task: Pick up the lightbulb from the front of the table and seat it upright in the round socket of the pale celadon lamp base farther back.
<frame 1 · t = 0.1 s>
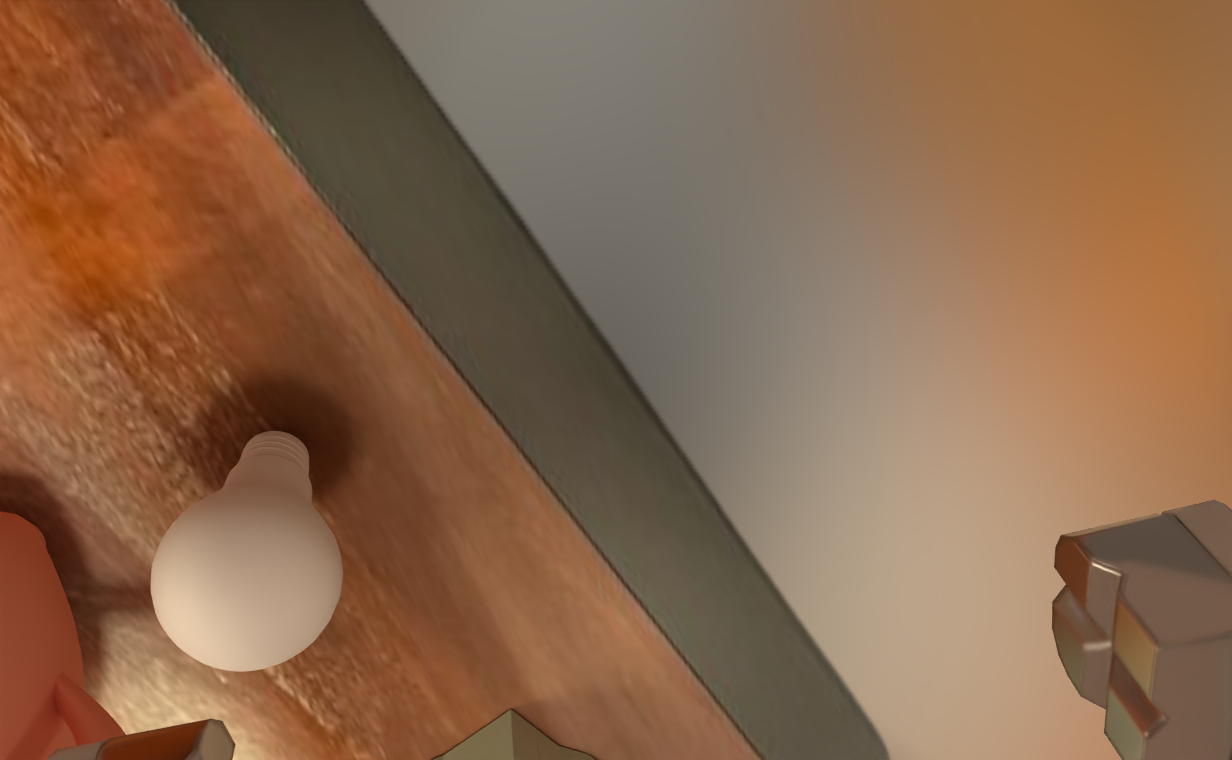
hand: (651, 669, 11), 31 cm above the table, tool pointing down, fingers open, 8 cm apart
lightbulb: (279, 443, 45), on the table
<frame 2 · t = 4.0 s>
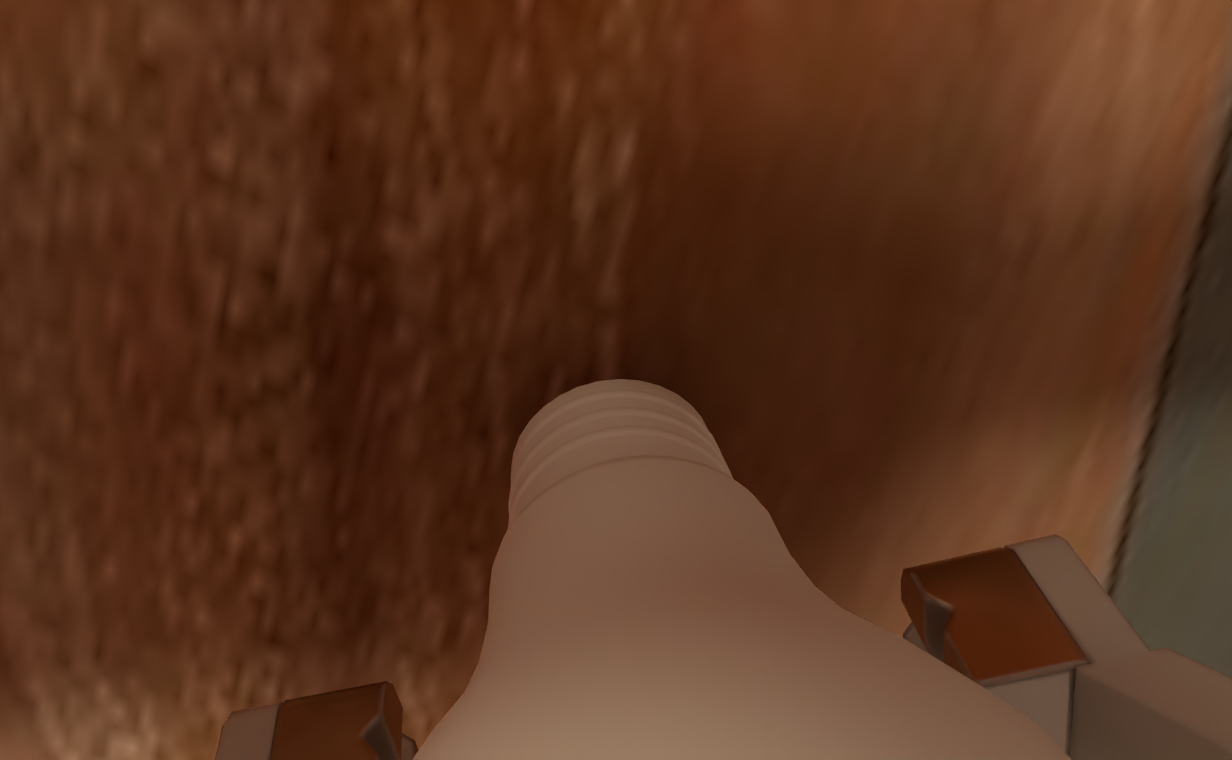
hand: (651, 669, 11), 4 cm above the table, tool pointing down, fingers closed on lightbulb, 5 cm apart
lightbulb: (603, 423, 15), on the table, touching gripper
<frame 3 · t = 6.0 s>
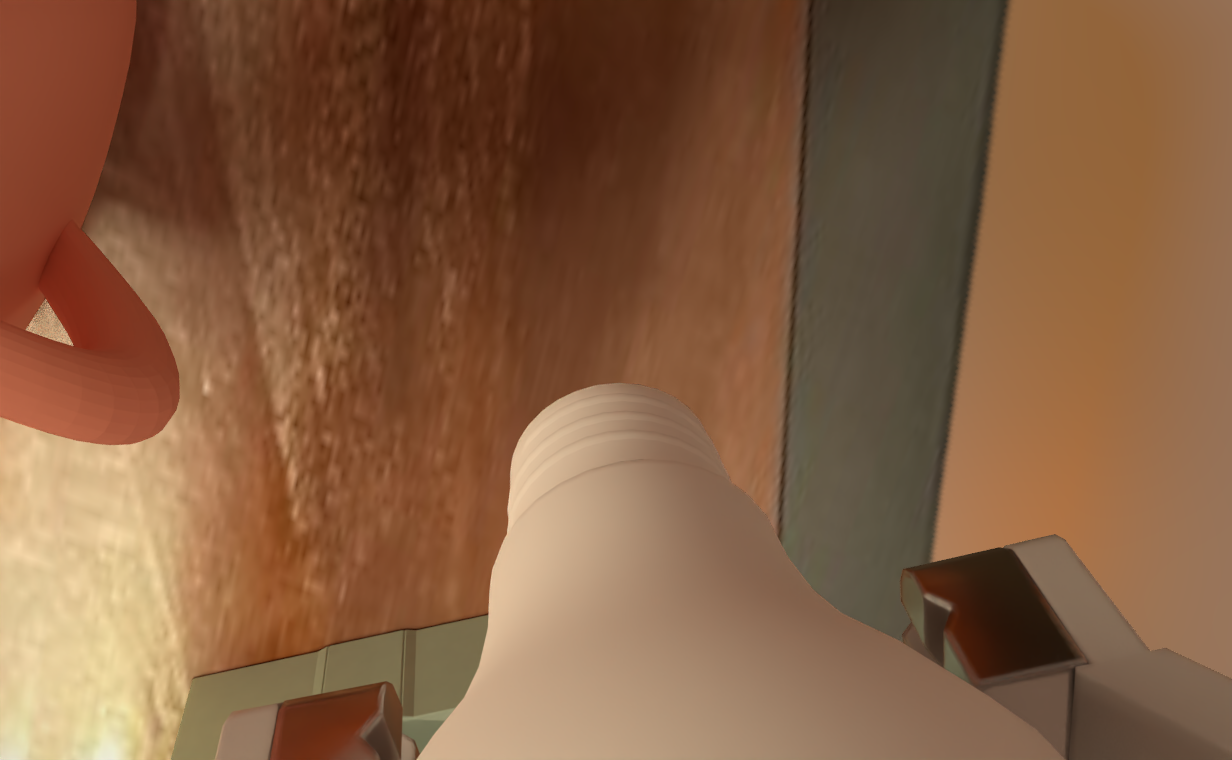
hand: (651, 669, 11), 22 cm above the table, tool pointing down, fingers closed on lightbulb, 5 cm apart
lightbulb: (602, 426, 15), point 17 cm above the table, touching gripper
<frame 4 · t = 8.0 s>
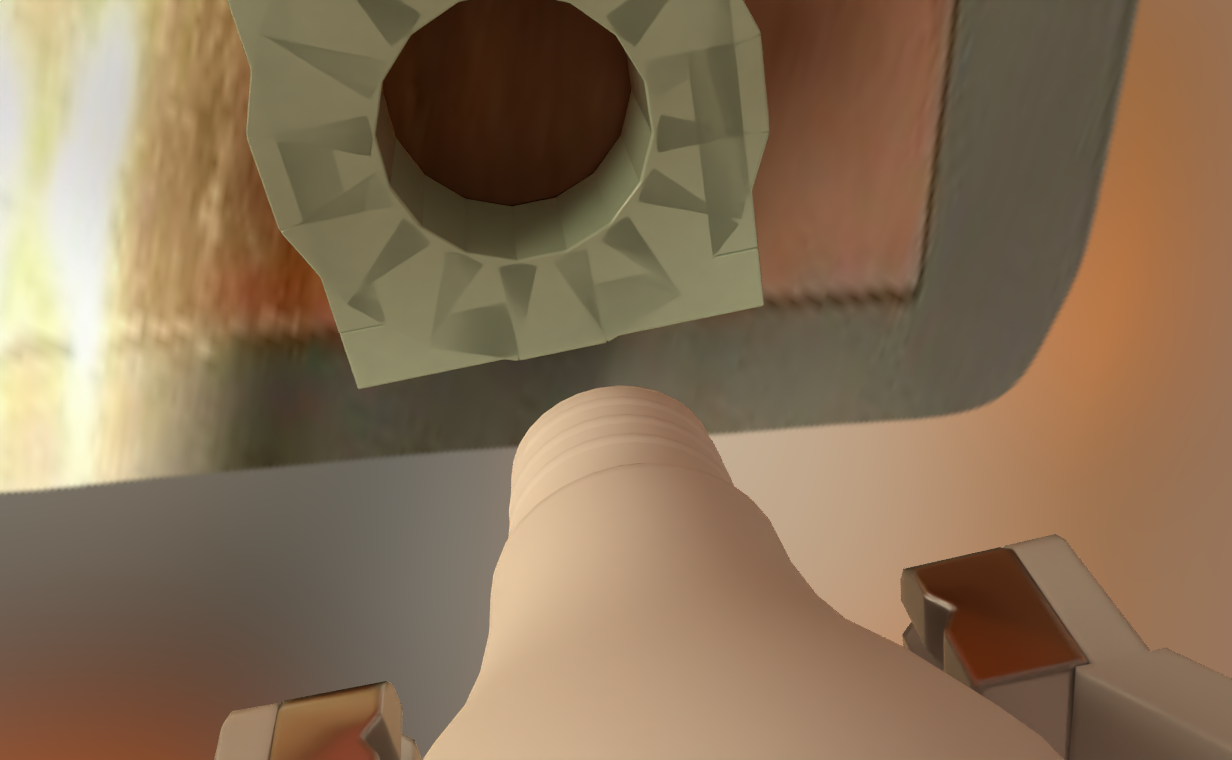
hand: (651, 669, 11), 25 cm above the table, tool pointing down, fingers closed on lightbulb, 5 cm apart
lightbulb: (603, 429, 15), point 20 cm above the table, touching gripper
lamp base: (508, 89, 33), on the table
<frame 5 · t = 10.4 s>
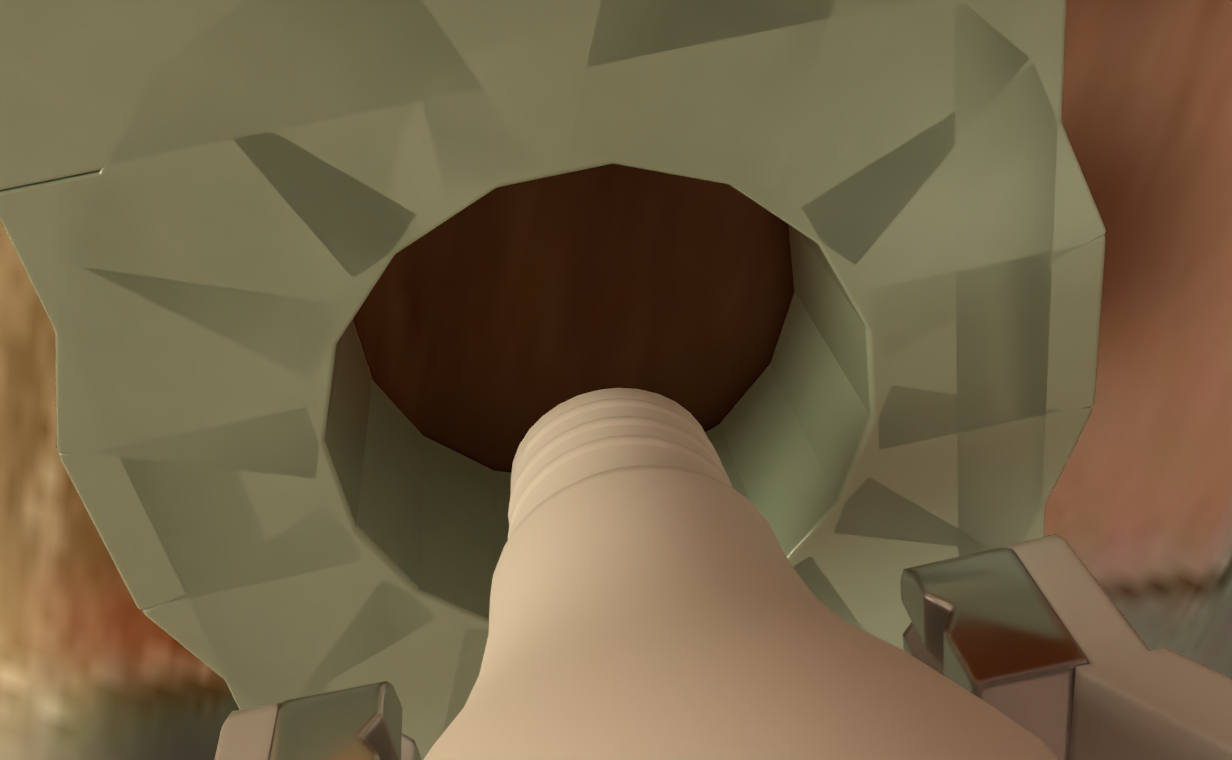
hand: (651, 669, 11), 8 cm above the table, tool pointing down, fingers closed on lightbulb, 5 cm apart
lightbulb: (603, 431, 15), point 4 cm above the table, touching gripper
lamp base: (576, 294, 18), on the table
when the fingers open (4 cm above the table, at t = 12.2 s): lightbulb stays where it is, resting in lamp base.
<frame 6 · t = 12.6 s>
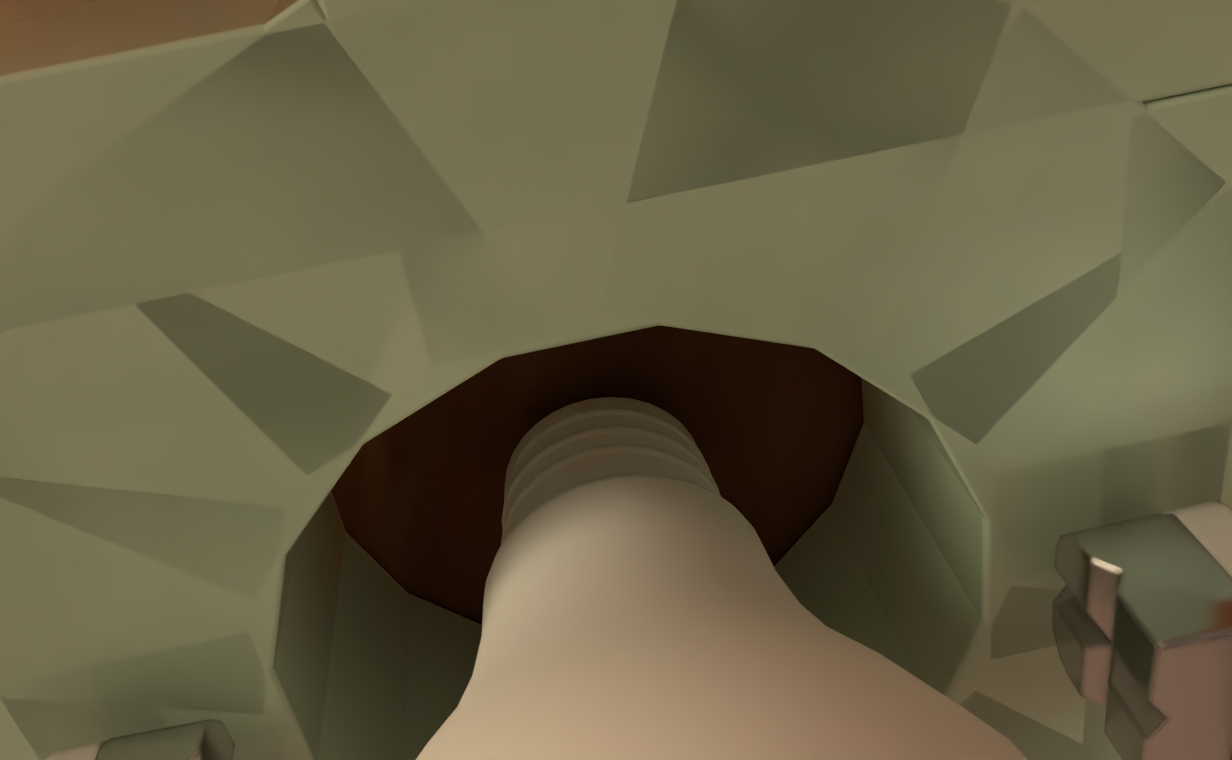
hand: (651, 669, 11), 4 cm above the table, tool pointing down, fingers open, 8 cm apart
lightbulb: (595, 438, 15), resting in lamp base
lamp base: (596, 429, 15), on the table
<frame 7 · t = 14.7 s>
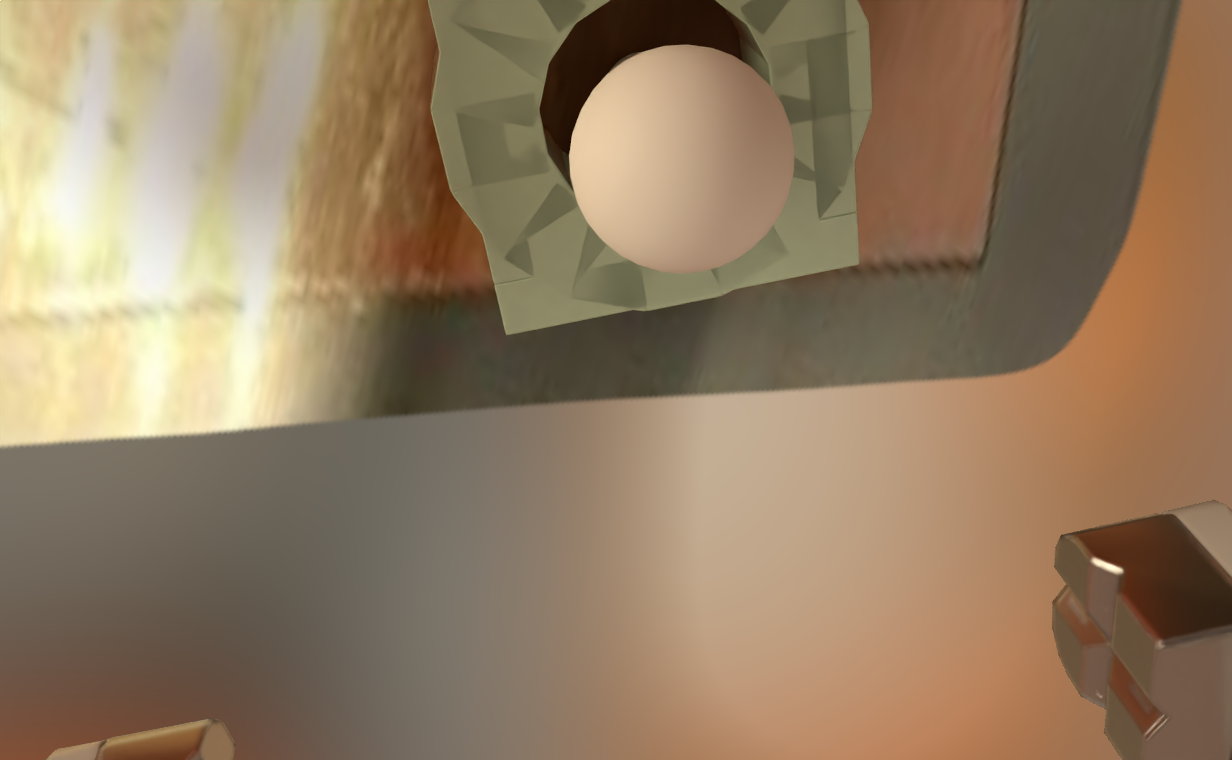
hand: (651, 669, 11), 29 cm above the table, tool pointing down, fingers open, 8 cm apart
lightbulb: (637, 82, 38), resting in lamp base
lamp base: (638, 75, 38), on the table
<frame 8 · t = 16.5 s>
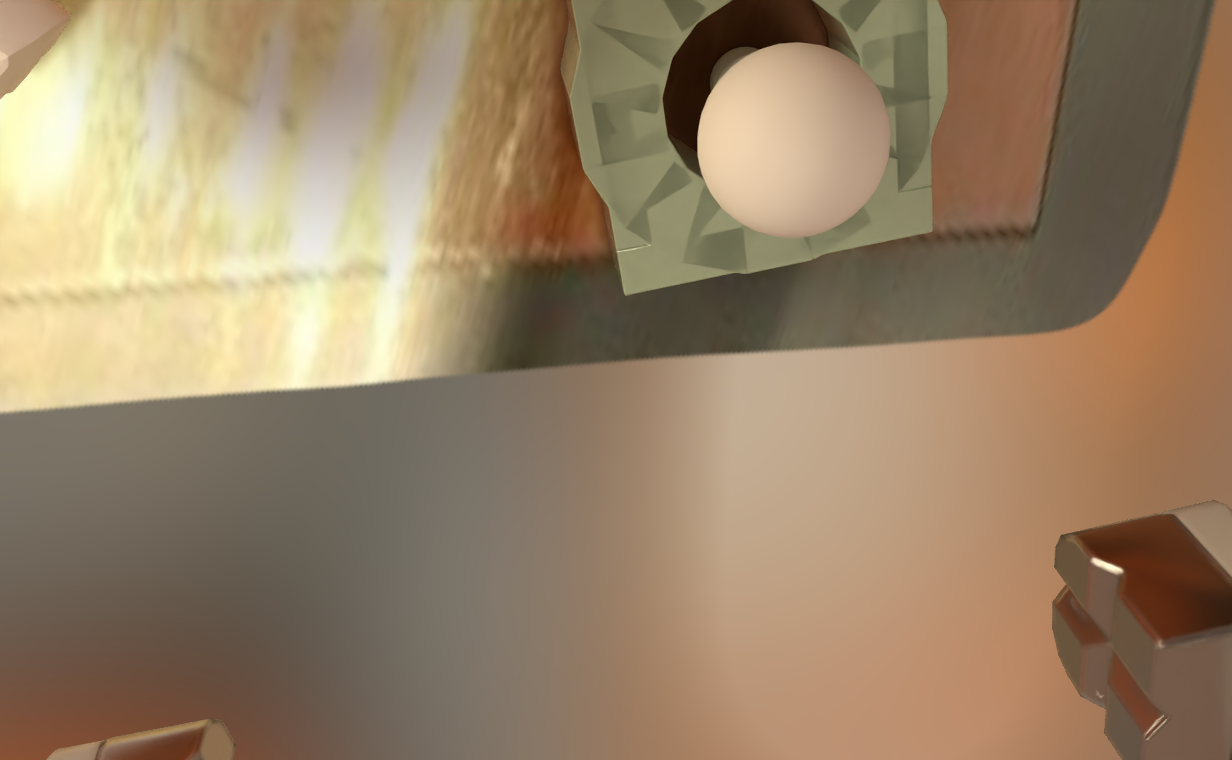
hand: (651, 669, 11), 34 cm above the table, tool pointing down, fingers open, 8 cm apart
lightbulb: (736, 72, 43), resting in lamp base
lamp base: (738, 67, 43), on the table
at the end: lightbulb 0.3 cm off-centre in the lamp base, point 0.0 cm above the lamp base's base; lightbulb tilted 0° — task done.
